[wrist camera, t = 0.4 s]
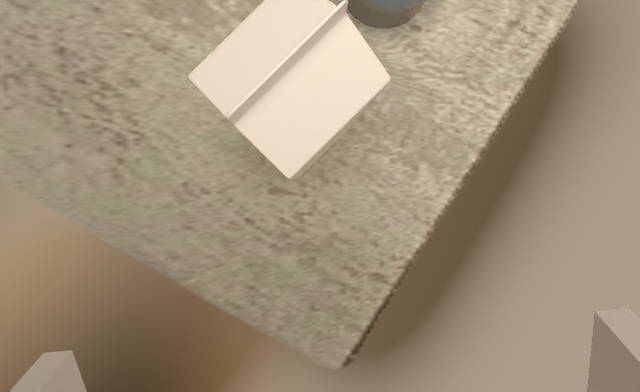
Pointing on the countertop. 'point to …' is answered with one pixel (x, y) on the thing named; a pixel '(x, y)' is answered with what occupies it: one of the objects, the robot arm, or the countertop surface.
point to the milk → (292, 79)
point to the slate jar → (384, 11)
